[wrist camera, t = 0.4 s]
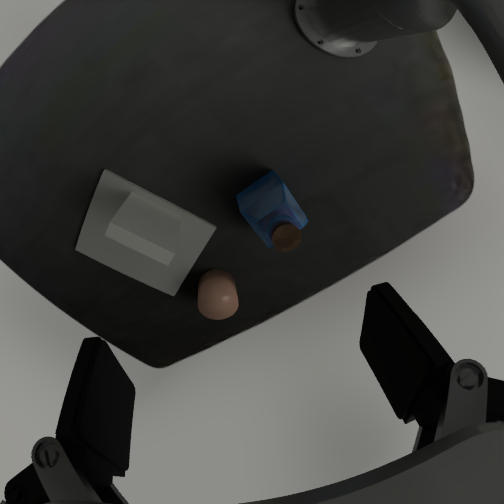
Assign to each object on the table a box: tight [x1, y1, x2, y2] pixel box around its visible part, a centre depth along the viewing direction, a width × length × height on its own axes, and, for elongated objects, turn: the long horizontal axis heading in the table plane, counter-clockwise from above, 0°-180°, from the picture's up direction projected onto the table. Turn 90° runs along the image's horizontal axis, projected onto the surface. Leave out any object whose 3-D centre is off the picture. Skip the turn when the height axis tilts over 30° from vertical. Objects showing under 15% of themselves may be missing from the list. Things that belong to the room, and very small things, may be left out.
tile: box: [105, 192, 182, 266], centre depth 34 cm, size 2×8×10 cm, turn 57°
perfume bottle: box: [236, 170, 309, 251], centre depth 36 cm, size 6×6×12 cm
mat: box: [75, 169, 217, 296], centre depth 41 cm, size 14×18×1 cm
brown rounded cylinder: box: [198, 269, 238, 320], centre depth 45 cm, size 6×6×5 cm
